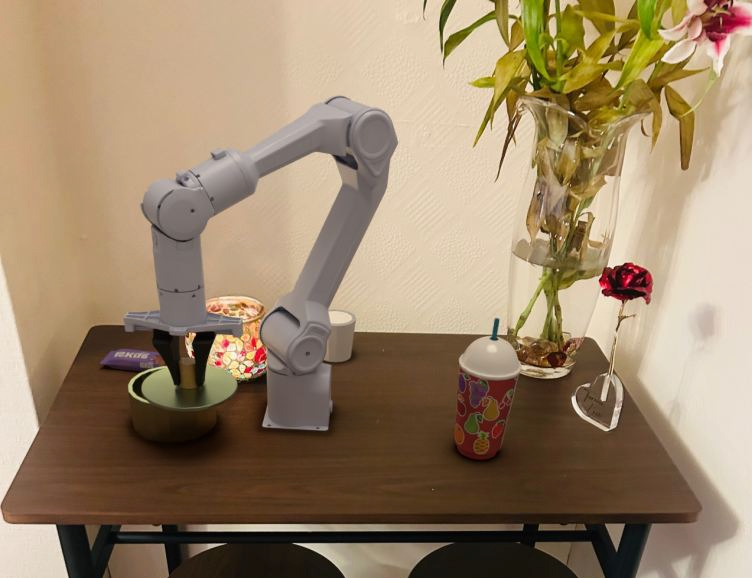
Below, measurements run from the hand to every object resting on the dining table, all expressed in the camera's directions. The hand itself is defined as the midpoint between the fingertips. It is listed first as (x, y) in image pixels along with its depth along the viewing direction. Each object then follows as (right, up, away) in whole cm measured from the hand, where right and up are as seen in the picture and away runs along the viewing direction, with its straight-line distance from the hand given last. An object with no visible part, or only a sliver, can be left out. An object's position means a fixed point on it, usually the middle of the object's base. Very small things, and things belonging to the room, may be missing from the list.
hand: (189, 382), depth 102 cm
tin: (-4, -5, +9) cm, 11 cm away
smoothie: (+39, -9, +8) cm, 41 cm away
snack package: (-14, +5, +23) cm, 27 cm away
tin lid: (0, -1, 0) cm, 1 cm away
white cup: (+17, +8, +31) cm, 36 cm away
